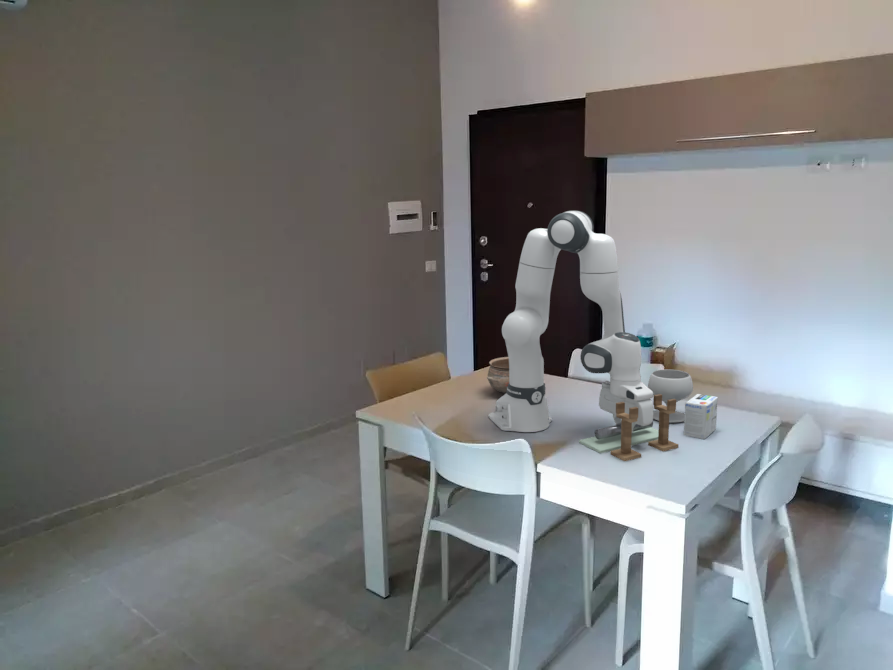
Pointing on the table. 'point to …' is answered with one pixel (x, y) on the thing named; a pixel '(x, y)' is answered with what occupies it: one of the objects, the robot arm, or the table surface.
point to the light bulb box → (700, 416)
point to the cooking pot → (499, 374)
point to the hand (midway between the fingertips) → (624, 431)
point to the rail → (616, 430)
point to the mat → (615, 441)
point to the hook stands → (627, 420)
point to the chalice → (671, 389)
